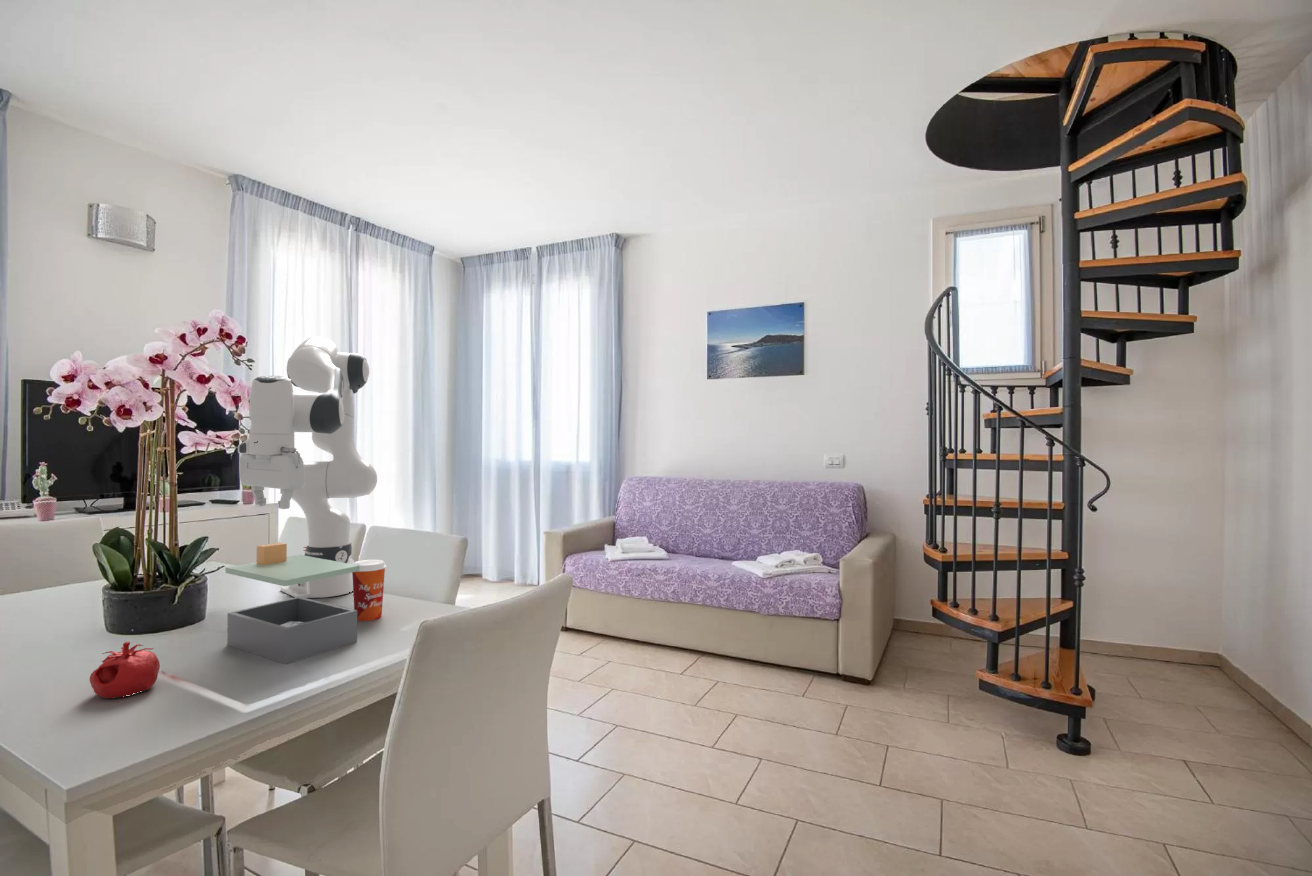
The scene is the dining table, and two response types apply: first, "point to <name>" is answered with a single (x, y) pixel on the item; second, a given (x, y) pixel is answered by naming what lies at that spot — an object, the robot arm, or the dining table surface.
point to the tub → (291, 629)
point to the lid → (289, 567)
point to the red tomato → (125, 672)
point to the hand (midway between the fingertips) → (272, 507)
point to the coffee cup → (368, 589)
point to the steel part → (291, 624)
